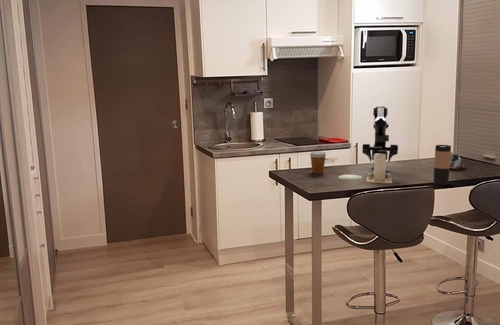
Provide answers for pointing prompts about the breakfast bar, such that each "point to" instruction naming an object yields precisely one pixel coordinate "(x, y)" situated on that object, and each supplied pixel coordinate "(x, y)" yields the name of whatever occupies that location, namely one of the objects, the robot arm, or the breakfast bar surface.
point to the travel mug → (442, 164)
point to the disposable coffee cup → (317, 162)
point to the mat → (349, 177)
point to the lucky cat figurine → (455, 161)
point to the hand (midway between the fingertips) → (379, 161)
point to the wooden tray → (387, 180)
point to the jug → (379, 166)
